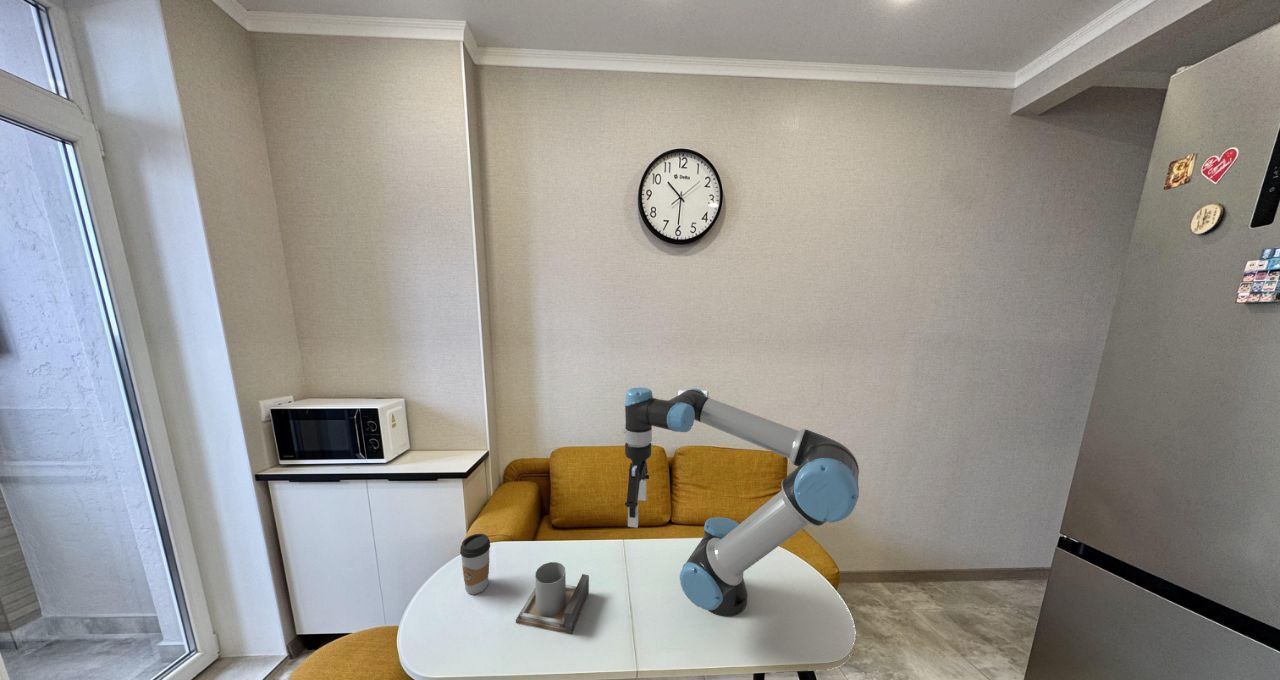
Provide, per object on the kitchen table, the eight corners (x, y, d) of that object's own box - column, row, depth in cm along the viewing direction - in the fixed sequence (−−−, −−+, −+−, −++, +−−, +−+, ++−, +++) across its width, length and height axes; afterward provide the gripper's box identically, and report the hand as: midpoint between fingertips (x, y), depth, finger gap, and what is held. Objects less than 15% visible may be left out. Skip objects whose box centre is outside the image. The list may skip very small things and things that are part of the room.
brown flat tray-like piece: (588, 593, 114) (588, 575, 113) (571, 634, 100) (571, 614, 99) (539, 584, 117) (539, 566, 116) (515, 622, 103) (515, 603, 102)
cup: (558, 619, 103) (557, 586, 102) (530, 613, 105) (529, 581, 103) (570, 595, 111) (569, 564, 110) (544, 590, 113) (543, 559, 112)
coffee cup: (455, 592, 113) (453, 546, 111) (476, 573, 121) (475, 529, 119) (476, 601, 110) (475, 554, 108) (497, 581, 117) (496, 536, 116)
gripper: (633, 426, 120) (633, 489, 123) (614, 460, 96) (614, 537, 99) (657, 428, 119) (656, 491, 122) (643, 462, 95) (642, 541, 97)
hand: (637, 512), depth 110 cm, fingers open, 13 cm apart
